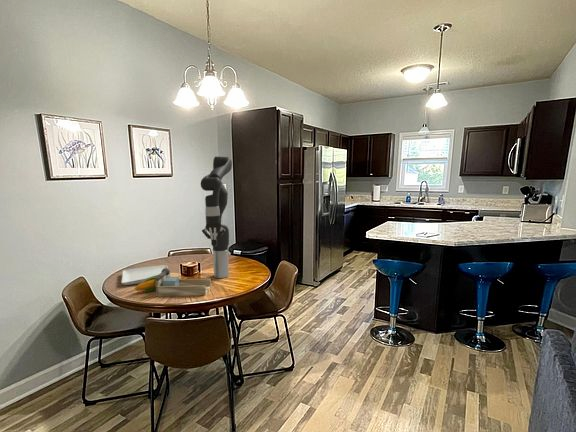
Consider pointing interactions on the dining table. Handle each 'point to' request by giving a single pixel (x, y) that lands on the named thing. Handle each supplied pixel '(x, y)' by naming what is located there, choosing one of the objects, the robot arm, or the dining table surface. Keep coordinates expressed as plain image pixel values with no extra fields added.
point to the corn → (147, 285)
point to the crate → (171, 281)
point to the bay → (181, 286)
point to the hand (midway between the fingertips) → (214, 246)
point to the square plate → (141, 274)
